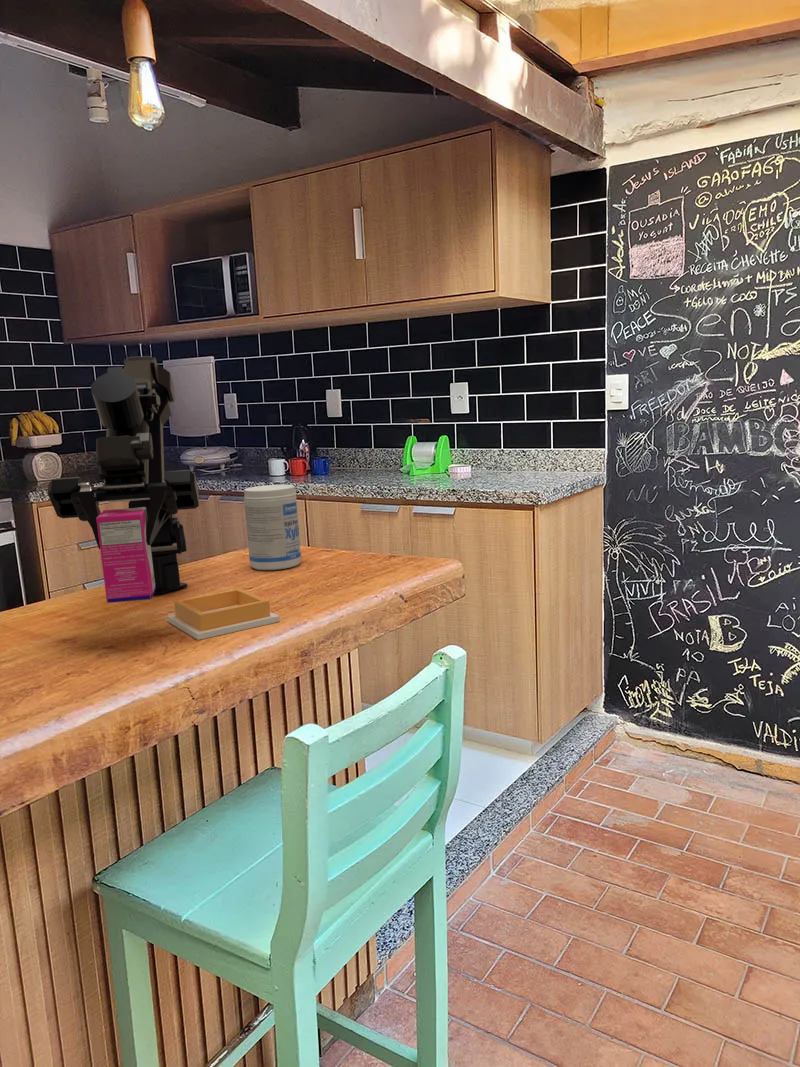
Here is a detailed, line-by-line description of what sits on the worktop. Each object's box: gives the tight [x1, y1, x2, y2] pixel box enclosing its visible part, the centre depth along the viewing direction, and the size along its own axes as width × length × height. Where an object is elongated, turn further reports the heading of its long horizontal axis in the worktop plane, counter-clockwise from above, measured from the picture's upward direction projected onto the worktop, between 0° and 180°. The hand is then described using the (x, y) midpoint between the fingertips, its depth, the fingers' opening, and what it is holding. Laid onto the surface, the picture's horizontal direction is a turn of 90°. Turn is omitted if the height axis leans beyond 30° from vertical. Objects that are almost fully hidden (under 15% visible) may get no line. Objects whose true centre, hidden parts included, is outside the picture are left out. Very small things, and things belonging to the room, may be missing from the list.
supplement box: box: [96, 507, 156, 604], centre depth 107 cm, size 6×6×12 cm
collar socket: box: [166, 588, 281, 641], centre depth 115 cm, size 12×12×3 cm
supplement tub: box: [243, 484, 302, 571], centre depth 150 cm, size 10×10×15 cm
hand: (124, 545), depth 105 cm, fingers closed on supplement box, 6 cm apart
